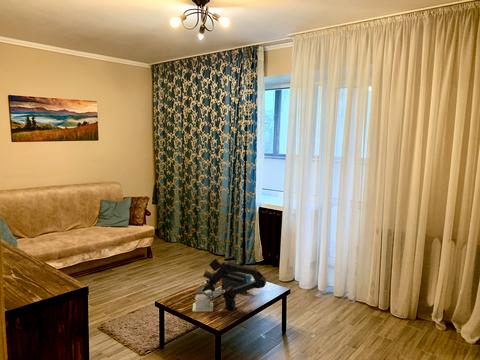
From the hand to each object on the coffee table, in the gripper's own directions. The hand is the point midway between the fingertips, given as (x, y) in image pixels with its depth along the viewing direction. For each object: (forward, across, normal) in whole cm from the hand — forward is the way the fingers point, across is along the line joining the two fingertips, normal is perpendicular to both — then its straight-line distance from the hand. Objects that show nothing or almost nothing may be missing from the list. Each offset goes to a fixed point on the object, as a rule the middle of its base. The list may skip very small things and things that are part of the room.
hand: (202, 290), depth 248 cm
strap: (+1, 0, +2) cm, 2 cm away
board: (+8, 0, +9) cm, 12 cm away
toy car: (+6, -21, +12) cm, 25 cm away
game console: (-8, -27, +26) cm, 39 cm away
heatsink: (+8, 0, +9) cm, 12 cm away
